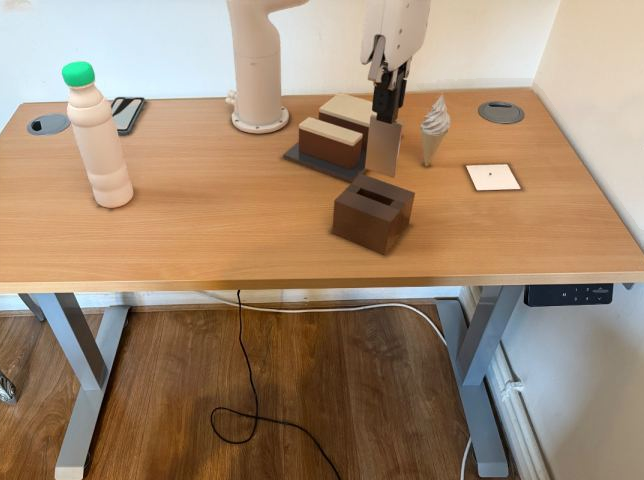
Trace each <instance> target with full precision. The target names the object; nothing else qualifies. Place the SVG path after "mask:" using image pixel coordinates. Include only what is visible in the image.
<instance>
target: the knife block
mask: <svg viewBox="0 0 644 480" xmlns="http://www.w3.org/2000/svg"><path fill="white" fill-rule="evenodd" d="M415 195H416V192H414V191H411V190H408V189H405V188H403V187H400V186H397V185H395V184H391V183H390V182H389V183H388V182H386V181H383V180H380V179H378V178H375V177H371V176H369V175H366V174H364V173H363V174H360V175H359V176H358V177H357V178H356V179H355V180H354V181H353V182H352V183H349V185H348V186H347V187H346V188H345V189H344V190H343V191H342V192H341V193H340V194H339V195H338V196H337V197H336V198H335V199H334V201H333V213H332V229H331V234H333V235H335V236H337V237H340V238H342V239H345V240H346V241H349V242H352V243H354V244H357V245H359V246H361V247H364V248H367V249H369V250H371V251H373V252H375V253H378V254H380V255H383V256H385V255H386V254H387V253H388V252H389V251H390V249H391V248H392V247H393V246H394V244H395V243H396V242H397V241H398V239H399V238H400V237H401V236H402V234H403V233H404V232H405V231H406V230H407V228H408V227H409V225H410V221H411V215H412V211H413V205H414V200H415Z"/></svg>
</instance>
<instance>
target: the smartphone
mask: <svg viewBox="0 0 644 480" xmlns="http://www.w3.org/2000/svg"><path fill="white" fill-rule="evenodd" d="M145 104H146V98H145V97H143V96H116V97H115V98H114V99H113V101H112V102H111V103H110V105H111V109H112V117H113V119H114V122H115V125H116V128H117V132H118V135H119V136H120V135H124V136H125V135H128V134H130V133H131V131H132V129H133V127H134V125H135V123H136V121H137V120H138V117H139V115H140V113H141V112H142V110H143V107H144V106H145Z"/></svg>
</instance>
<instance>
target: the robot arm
mask: <svg viewBox="0 0 644 480" xmlns="http://www.w3.org/2000/svg"><path fill="white" fill-rule="evenodd" d="M309 1H310V0H225V3H226V7H227V12H228V17H229V23H230V30H231V38H232V48H233V49H232V50H233V63H234V74H235V75H234V76H235V88H236V91H235V90H231V89H230V90H229V91H228V92H227V97H226V98H225V104H227V105H229V106H233V109H234V110H233V111H232V113H231V122H232V125H233V126H234V127H235V128H237V130H240V131H242V132H245V133H249V134H255V135H256V134H257V135H258V134H259V135H260V134H262V135H263V134H269V133H273V132H276V131H278V130H280V129H282V128H284V127H285V126H286V125H287V124H288V122H289V120H290V113H289V111H288V109H287V108H286V107H285V106H283V104H282V103H283V101H282V52H281V51H282V50H281V48H282V47H281V36H280V33H279V30H278V29H277V27H276V26H275V24H274V23H272V21H271V20H270V19H269V15H270V14H272V13H276V12H278V11H283V10H288V9H292V8H297V7H301V6H303V5H305V4H307V3H309ZM431 1H432V0H368V1H367V7H366V12H365V19H364V24H363V30H362V31H363V33H362V38H361V46H360V56H359V57H360V58H359V59H360V61H359V62H360V63H361V65H363V66H366V65H368V64H369V63H370V67H369V70H368V74H367V80H368V81H370V82H372V85H373V86H374V87H373V96H372V102H373V103H372V111H373V112H376V113H379V114H382V115H386V116H389V117H391V116H393V115H394V111H395V104H396V98H397V91H398V88H395V86H396V79H397V72H398V69H400V70H404V75H403V82H402V89H401V96H400V103H399V109H401V108H403V106H404V102H405V96H406V90H407V84H408V80H407V79H408V77H409V75H410V70H411V64H412V60H413V56H415V54H417V53H418V52H419V50H420V49H421V48H422V47H423V45H424V43H425V39H426V35H427V29H428V24H429V18H430V17H429V16H430V10H431ZM383 70H386V71H390V76H389V75H388V73H384V72H382V71H383Z"/></svg>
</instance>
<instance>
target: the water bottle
mask: <svg viewBox="0 0 644 480" xmlns="http://www.w3.org/2000/svg"><path fill="white" fill-rule="evenodd" d="M61 76H62V79H63V81H64V83H65V85H66V87H67V88H68V89H69V94H68V98H67V99H68V101H67V106H66V114H67V115H66V116H67V118H68V120H69V122H70V123H71V127H72V131H73V135H74V139H75V142H76V146H77V148H78V152H79V154H80V157H81V160H82V162H83V164H84V166H85V168H86V175H87V178H88V181H89V184H90V185H91V188H92V194H93V197H94V199H95V202H96V203H97V204H98V205H99V206H101V207H104V208H108V209H114V208H115V209H116V208H120V207H122V206H125V205H127V204H128V203H130V201H131V200H132V199H133V197H134V188H133V186H132V181H131V179H130V176H129V169H128V166H127V164H126V161H125V159H124V152H123V148H122V147H123V146H122V144H121V139H120V135H119V134H118V132H117V128H116V125H115V122H114V119H113V117H112V109H111V103H110V102H109V100H108V99H107V98H106V97H105V96H104V95H103V93H102V92H101V90H100V89H98V88H97V86H96V85H95V83H96V74H95V70H94V67H93V66H92V64H90V63H89V62H87V61H82V60H81V61H80V60H77V61H73V62H69V63H67V64H65V65H64V66H63V67H62V68H61Z"/></svg>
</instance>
